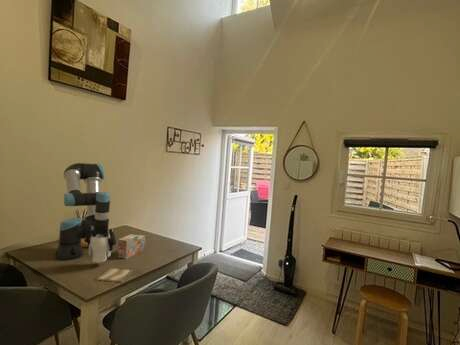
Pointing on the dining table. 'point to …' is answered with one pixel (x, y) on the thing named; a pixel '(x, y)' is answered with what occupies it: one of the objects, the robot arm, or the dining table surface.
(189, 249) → the dining table surface
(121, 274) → the picture frame
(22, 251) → the dining table surface
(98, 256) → the cup
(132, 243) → the stack of blocks
